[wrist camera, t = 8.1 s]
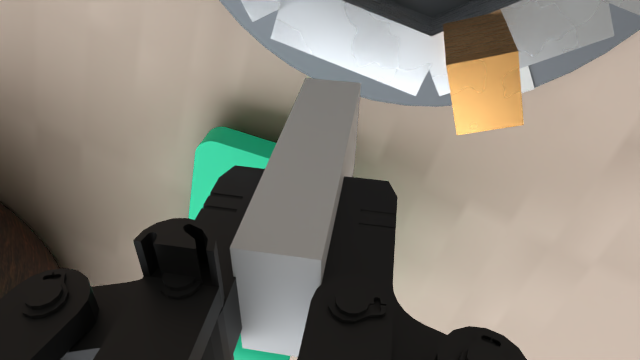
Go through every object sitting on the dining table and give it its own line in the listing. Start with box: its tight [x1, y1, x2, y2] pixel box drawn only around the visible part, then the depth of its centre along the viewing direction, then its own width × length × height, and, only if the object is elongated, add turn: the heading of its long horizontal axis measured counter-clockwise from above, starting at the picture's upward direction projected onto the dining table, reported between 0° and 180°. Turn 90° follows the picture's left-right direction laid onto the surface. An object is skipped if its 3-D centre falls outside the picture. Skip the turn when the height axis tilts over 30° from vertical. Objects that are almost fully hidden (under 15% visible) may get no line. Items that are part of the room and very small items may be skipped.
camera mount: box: [188, 127, 290, 360], centre depth 25 cm, size 12×8×10 cm, turn 166°
